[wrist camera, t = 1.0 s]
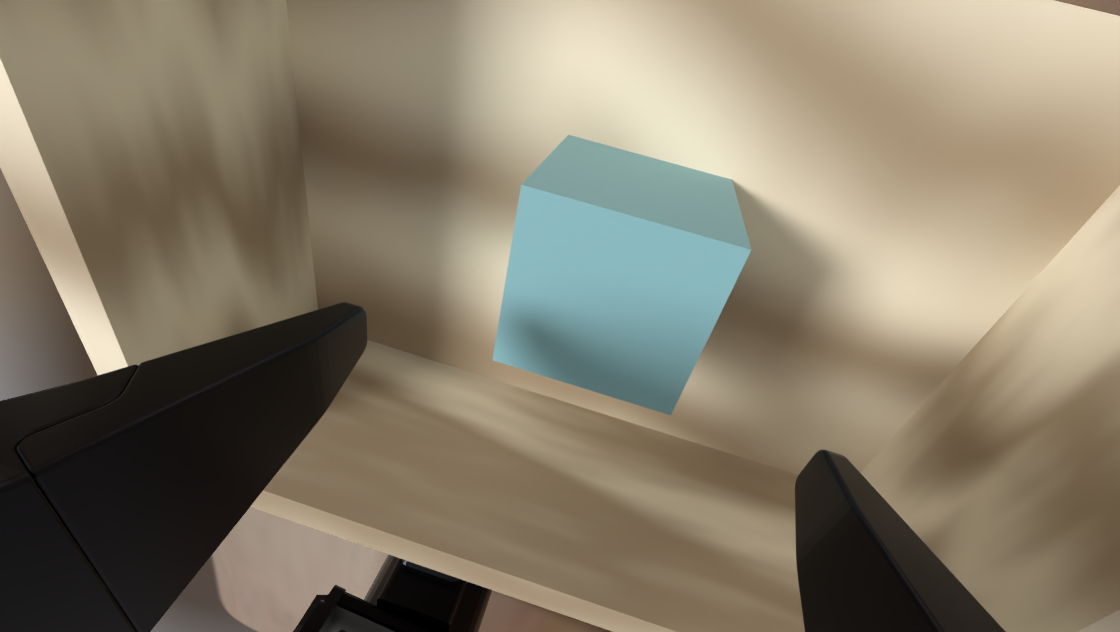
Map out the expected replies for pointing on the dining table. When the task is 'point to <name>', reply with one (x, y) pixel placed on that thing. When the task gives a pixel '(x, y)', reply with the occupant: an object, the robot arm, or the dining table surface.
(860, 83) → the birch crate
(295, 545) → the dining table surface
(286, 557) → the dining table surface
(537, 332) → the teal block
